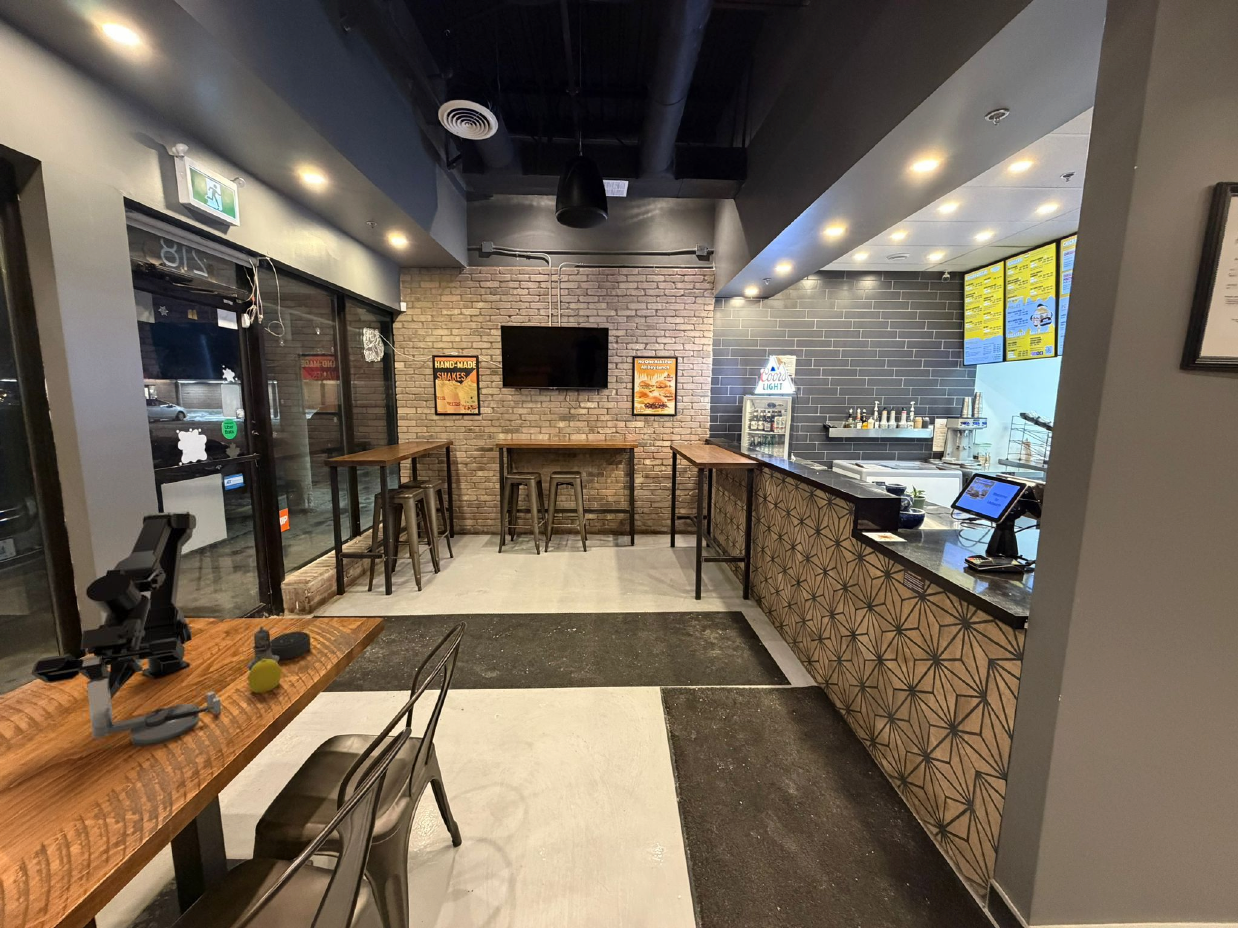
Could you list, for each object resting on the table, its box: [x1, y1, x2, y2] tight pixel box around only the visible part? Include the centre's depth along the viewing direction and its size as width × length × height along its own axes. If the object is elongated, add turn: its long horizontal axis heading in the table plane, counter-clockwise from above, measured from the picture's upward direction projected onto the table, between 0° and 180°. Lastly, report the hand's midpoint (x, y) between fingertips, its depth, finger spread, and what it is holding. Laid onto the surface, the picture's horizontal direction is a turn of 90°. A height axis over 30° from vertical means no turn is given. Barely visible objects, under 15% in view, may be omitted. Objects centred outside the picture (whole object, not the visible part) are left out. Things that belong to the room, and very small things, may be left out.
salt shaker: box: [247, 626, 279, 672], centre depth 105 cm, size 6×6×12 cm
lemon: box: [248, 659, 282, 694], centre depth 98 cm, size 6×6×8 cm
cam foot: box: [86, 676, 208, 747], centre depth 84 cm, size 13×11×12 cm
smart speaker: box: [270, 631, 312, 662], centre depth 116 cm, size 9×9×4 cm
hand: (100, 707), depth 81 cm, fingers closed, pressing on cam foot
